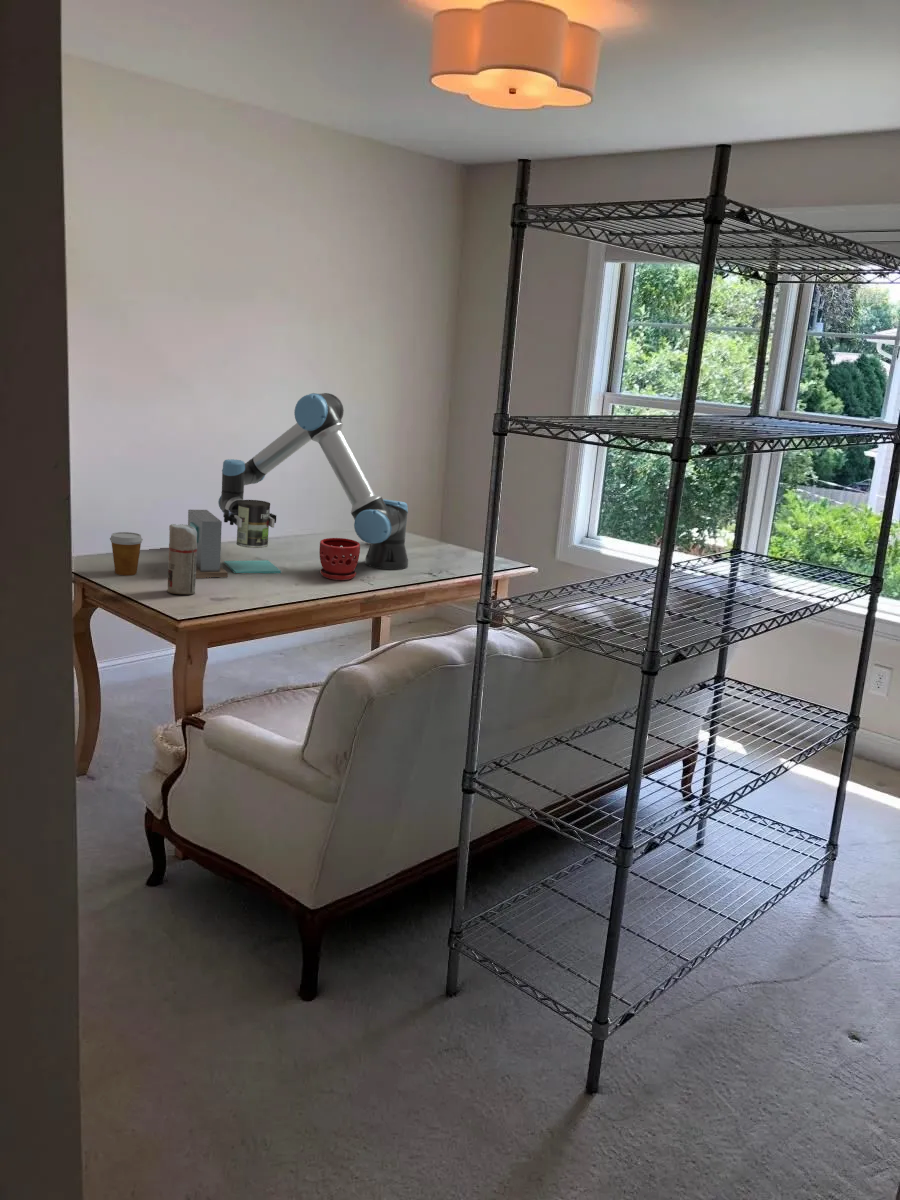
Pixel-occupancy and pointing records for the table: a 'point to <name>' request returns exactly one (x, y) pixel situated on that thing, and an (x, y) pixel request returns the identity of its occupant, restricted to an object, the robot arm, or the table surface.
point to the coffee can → (253, 523)
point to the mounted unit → (207, 543)
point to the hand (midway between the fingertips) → (257, 523)
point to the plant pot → (339, 558)
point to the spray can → (182, 559)
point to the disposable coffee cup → (126, 552)
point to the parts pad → (252, 566)
